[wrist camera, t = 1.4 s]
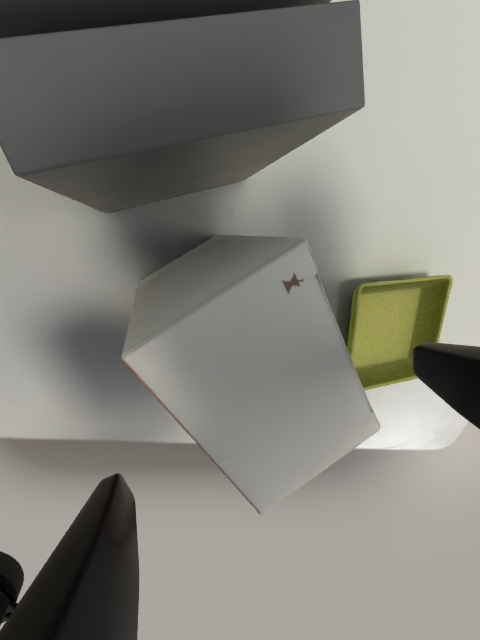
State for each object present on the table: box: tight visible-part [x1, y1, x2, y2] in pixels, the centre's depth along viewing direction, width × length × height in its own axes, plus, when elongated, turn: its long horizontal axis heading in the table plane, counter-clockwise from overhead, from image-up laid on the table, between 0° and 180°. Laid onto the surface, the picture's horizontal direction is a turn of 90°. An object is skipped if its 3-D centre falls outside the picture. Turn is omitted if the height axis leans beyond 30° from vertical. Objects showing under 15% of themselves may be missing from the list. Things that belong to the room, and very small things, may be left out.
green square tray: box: [347, 275, 453, 390], centre depth 21 cm, size 9×9×2 cm
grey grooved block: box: [0, 0, 365, 213], centre depth 10 cm, size 8×4×10 cm, turn 105°
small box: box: [121, 235, 380, 514], centre depth 13 cm, size 8×6×10 cm
